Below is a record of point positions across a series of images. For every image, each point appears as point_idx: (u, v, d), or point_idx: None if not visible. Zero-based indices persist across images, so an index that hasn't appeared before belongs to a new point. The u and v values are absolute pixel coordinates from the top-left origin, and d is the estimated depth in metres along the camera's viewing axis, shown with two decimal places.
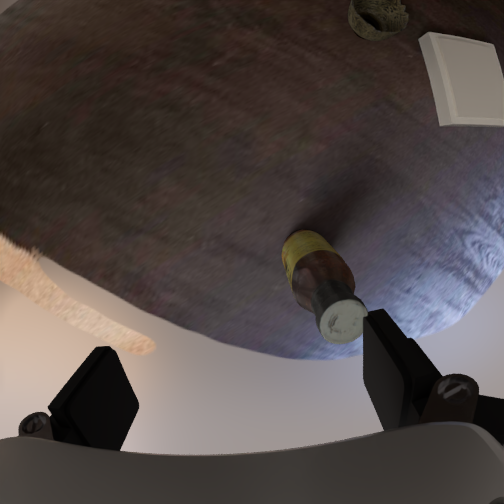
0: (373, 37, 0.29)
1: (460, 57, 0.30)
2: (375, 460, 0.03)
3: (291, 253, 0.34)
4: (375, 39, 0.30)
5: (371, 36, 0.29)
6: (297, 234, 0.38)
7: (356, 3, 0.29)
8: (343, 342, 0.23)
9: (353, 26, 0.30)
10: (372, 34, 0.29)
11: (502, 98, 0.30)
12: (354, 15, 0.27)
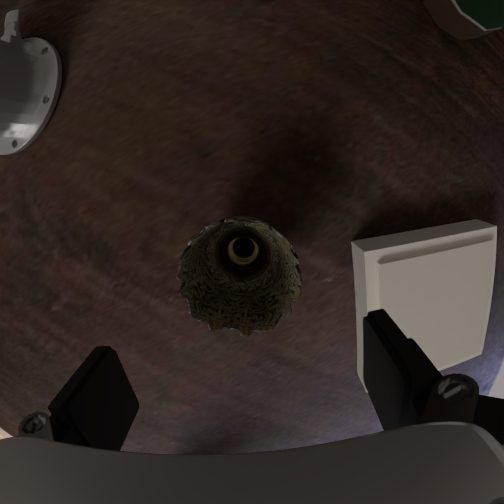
0: None
1: (416, 291, 0.23)
2: (374, 460, 0.03)
3: None
4: None
5: None
6: None
7: (214, 228, 0.21)
8: None
9: None
10: (229, 315, 0.21)
11: (475, 328, 0.24)
12: None
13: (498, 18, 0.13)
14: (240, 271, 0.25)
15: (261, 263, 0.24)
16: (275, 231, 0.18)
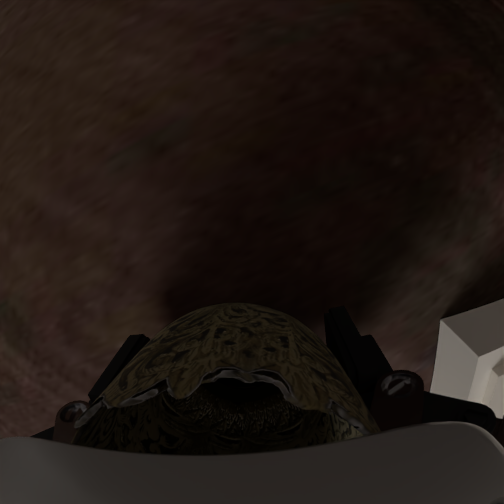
0: None
1: None
2: (374, 460, 0.03)
3: None
4: None
5: None
6: None
7: None
8: None
9: None
10: None
11: None
12: None
13: None
14: (236, 393, 0.11)
15: None
16: (348, 418, 0.04)
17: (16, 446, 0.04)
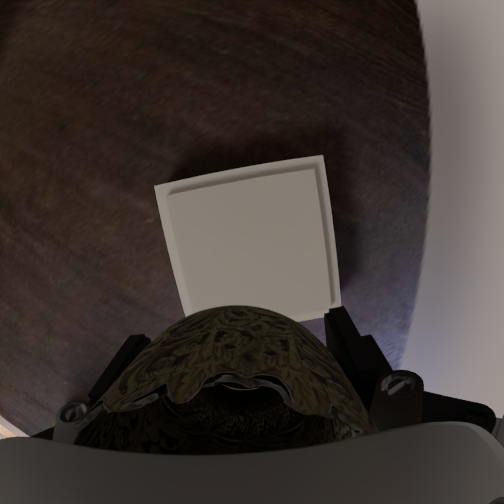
0: None
1: (211, 223, 0.25)
2: (375, 460, 0.03)
3: None
4: None
5: None
6: None
7: None
8: None
9: None
10: None
11: (313, 276, 0.26)
12: None
13: None
14: (236, 394, 0.11)
15: None
16: (348, 422, 0.04)
17: (16, 446, 0.04)
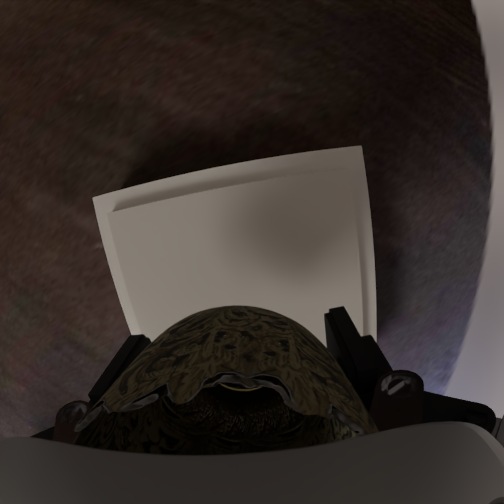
0: None
1: (178, 257, 0.15)
2: (374, 460, 0.03)
3: None
4: None
5: None
6: None
7: None
8: None
9: None
10: None
11: None
12: None
13: None
14: (236, 395, 0.11)
15: None
16: (348, 423, 0.04)
17: (16, 446, 0.04)
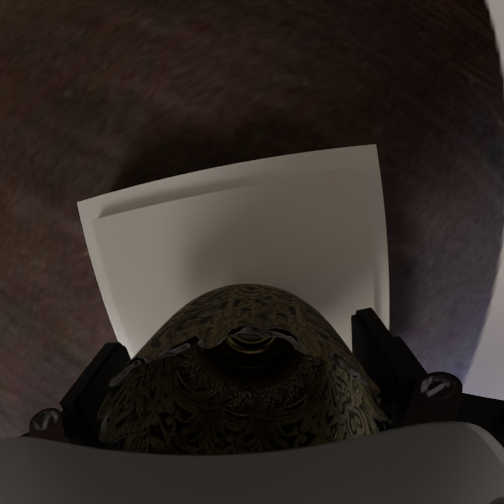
0: None
1: (170, 270, 0.13)
2: (375, 460, 0.03)
3: None
4: None
5: None
6: None
7: None
8: None
9: None
10: None
11: None
12: None
13: None
14: (244, 371, 0.12)
15: (285, 360, 0.12)
16: (347, 368, 0.06)
17: (16, 446, 0.04)
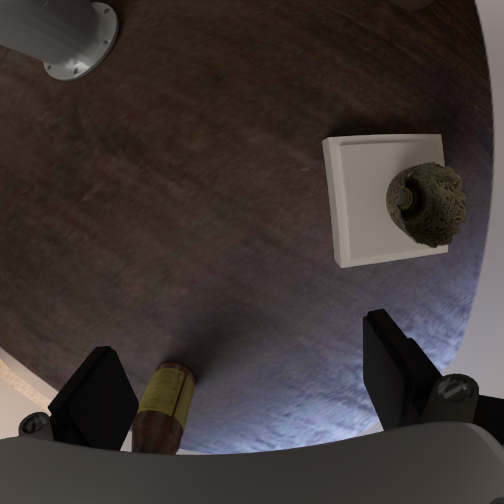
0: None
1: (373, 171, 0.30)
2: (374, 460, 0.03)
3: (143, 397, 0.34)
4: None
5: None
6: (160, 371, 0.38)
7: None
8: None
9: (391, 217, 0.27)
10: (413, 238, 0.26)
11: None
12: (397, 216, 0.25)
13: None
14: (404, 212, 0.29)
15: (418, 207, 0.29)
16: (456, 174, 0.22)
17: (16, 446, 0.04)
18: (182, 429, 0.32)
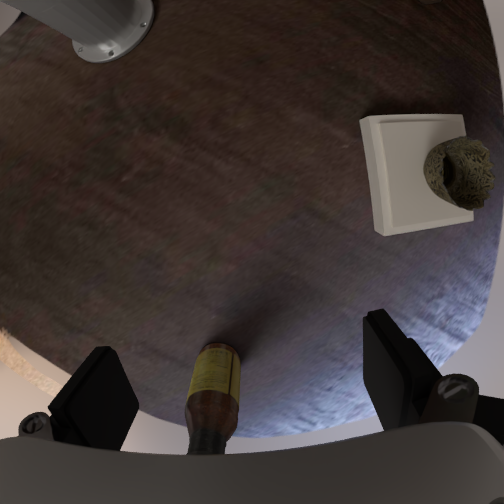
0: None
1: (408, 146, 0.31)
2: (375, 460, 0.03)
3: (193, 379, 0.36)
4: None
5: (449, 202, 0.27)
6: (206, 352, 0.40)
7: None
8: None
9: (430, 185, 0.28)
10: None
11: None
12: (439, 183, 0.26)
13: None
14: None
15: (450, 178, 0.30)
16: (484, 147, 0.23)
17: (16, 446, 0.04)
18: (238, 407, 0.33)
